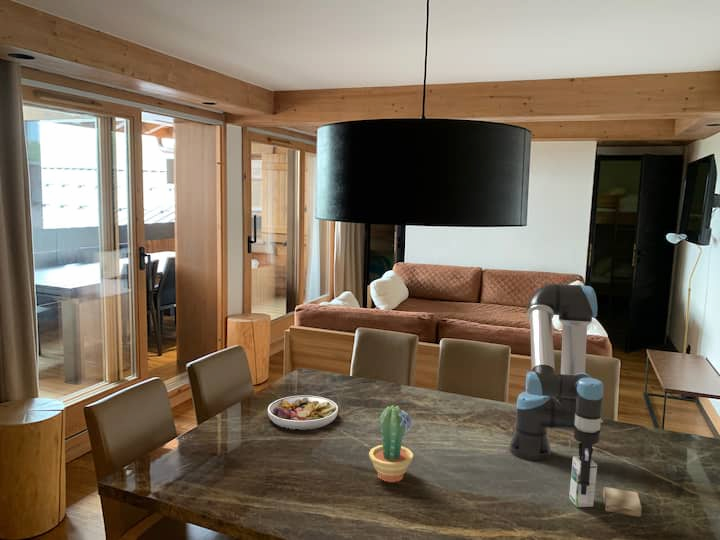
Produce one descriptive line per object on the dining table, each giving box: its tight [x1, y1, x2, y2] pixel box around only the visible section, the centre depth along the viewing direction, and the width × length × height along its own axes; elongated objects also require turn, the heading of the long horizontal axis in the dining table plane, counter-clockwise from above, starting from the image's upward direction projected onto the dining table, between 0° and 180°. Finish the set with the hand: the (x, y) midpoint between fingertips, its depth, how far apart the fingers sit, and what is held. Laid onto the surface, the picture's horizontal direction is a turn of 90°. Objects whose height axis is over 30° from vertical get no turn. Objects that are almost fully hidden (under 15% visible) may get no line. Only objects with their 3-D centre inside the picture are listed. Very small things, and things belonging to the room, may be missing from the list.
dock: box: [602, 486, 643, 518], centre depth 182 cm, size 10×10×3 cm
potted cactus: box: [368, 404, 414, 483], centre depth 197 cm, size 15×15×25 cm
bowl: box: [267, 395, 339, 431], centre depth 247 cm, size 30×30×8 cm
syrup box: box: [568, 455, 598, 508], centre depth 183 cm, size 6×6×14 cm
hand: (581, 496), depth 183 cm, fingers closed on syrup box, 7 cm apart
